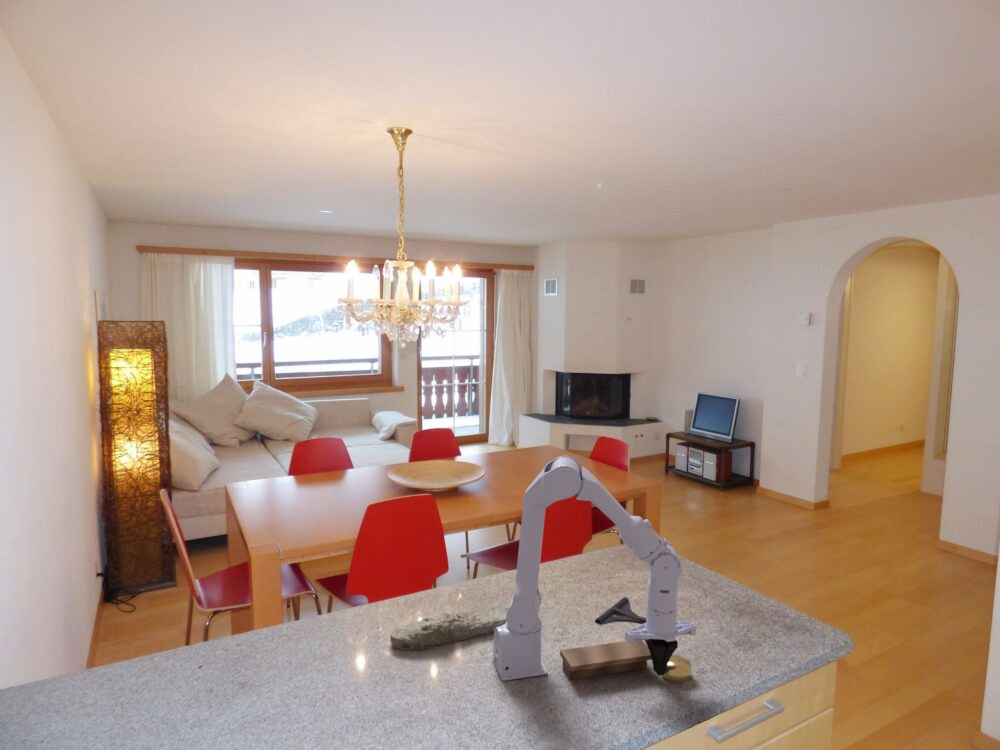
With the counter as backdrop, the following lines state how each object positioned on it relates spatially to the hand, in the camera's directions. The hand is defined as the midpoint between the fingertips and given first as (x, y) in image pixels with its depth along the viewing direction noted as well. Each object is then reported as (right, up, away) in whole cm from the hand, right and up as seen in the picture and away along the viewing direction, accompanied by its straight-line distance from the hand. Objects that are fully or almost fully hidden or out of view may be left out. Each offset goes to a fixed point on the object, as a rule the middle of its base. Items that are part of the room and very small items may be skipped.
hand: (658, 672), depth 122 cm
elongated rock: (-39, 0, +18) cm, 43 cm away
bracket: (+1, 0, +24) cm, 24 cm away
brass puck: (+4, -1, +2) cm, 4 cm away
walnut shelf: (-10, -1, +3) cm, 10 cm away
